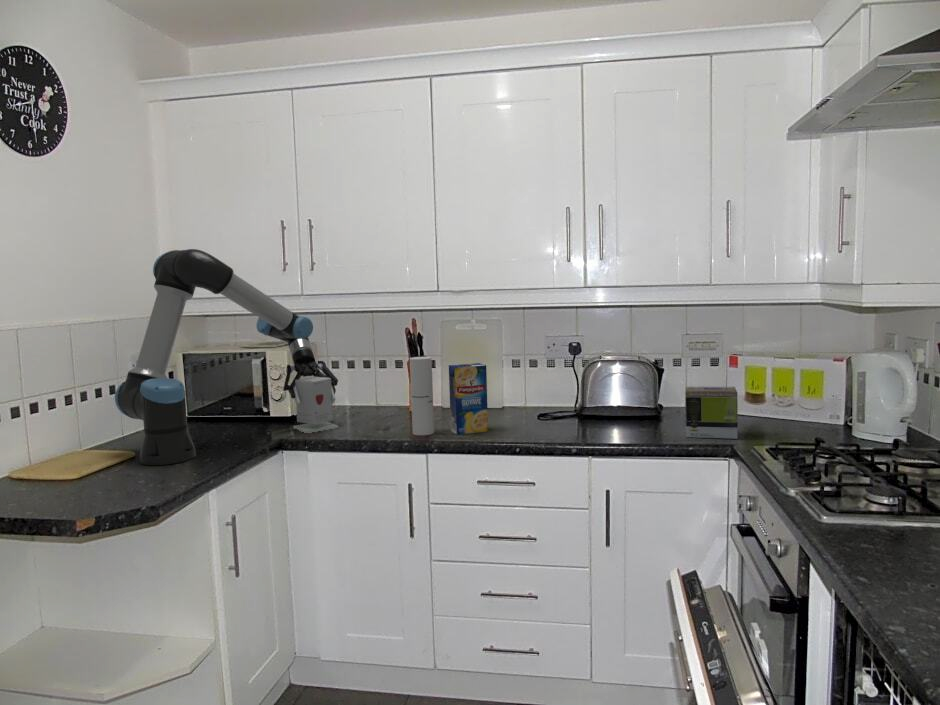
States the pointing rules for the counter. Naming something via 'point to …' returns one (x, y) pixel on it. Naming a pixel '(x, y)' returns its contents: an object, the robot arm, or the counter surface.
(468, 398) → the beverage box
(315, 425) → the pad
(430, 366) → the cylindrical container
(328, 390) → the supplement box
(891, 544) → the counter surface
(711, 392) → the tea box
